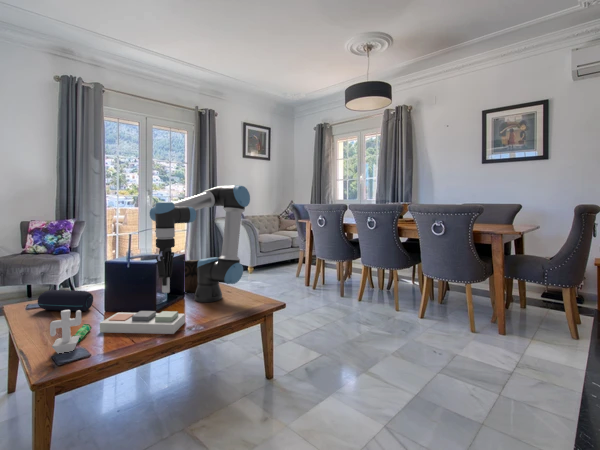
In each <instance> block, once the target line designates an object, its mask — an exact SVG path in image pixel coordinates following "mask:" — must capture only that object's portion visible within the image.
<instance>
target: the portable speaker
mask: <svg viewBox="0 0 600 450" xmlns="http://www.w3.org/2000/svg"><path fill="white" fill-rule="evenodd" d="M93 303H94V295H93V294H92V293H91V292H89V291H87V290H71V289H70V290H69V289H66V290H65V289H50V290H46V291H44V292H41V294H39V295H38V298H37V305H38V307H39V308H40V309H42V310H46V311H60V312H61V311H63V310H70V312H76V311H78V310H80V311H81V312H86V311H88V310H89V309H90V308H91V307H92V305H93Z"/></svg>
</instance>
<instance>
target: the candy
mask: <svg viewBox="0 0 600 450" xmlns="http://www.w3.org/2000/svg"><path fill="white" fill-rule="evenodd" d="M91 330H92V326H91V325H90V324H89V323H84V324H83V325H82V326H81V327H80V328H79V329H78V330H77V331H76V333H74V334H73V335H72V336H79V335H80V337H79V340H78V342H77V343H80V342H81V341H82V339H84V338H85V336H86V334H87V333H88V332H90V331H91Z"/></svg>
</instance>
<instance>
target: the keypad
mask: <svg viewBox="0 0 600 450" xmlns="http://www.w3.org/2000/svg"><path fill="white" fill-rule="evenodd" d="M136 313H137V312H123V311H121V312H116V313H114V314H113V315H111V316H109V317H108V318H106V319H103V320H102V321H101V322H99V333H106V334H107V333H112V334H113V333H114V334H115V333H116V334H122V333H124V334H156V335H157V334H162V335H165V334H166V335H174V334H175V333H176V332H177V331H178V330H179V329H180V328H181V327H182V326H183V325H184V324H186V313H178V317H177V318H176V319H175V320H174V321H173V322H155V317H156V316H157V315H158V314H160V313H161V312H156V316H155V317H154V318H153V319H151V320H150V321H149V322H145V321H132V317H131V318H129V319H128V320H126V321H109V319H111V318H112V317H114V316H116V315H117V314H134V315H135V314H136Z"/></svg>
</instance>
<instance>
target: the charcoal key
mask: <svg viewBox="0 0 600 450" xmlns="http://www.w3.org/2000/svg"><path fill="white" fill-rule="evenodd" d="M135 313H136V314H135V315H133V316H132V321H145V322H149V321H150V320H151V319H153V318H154V317H155V316H156V313H157V311H156V310H139V311H138V312H135Z"/></svg>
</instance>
